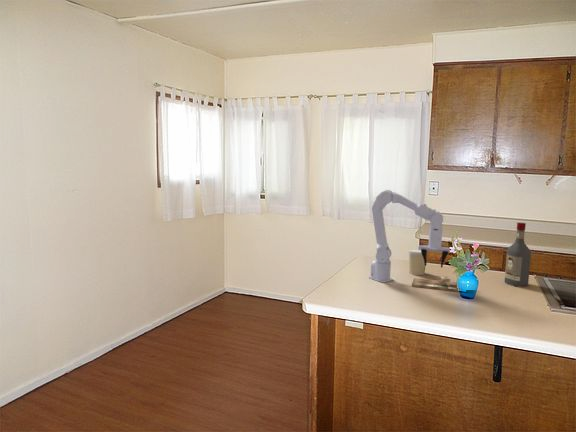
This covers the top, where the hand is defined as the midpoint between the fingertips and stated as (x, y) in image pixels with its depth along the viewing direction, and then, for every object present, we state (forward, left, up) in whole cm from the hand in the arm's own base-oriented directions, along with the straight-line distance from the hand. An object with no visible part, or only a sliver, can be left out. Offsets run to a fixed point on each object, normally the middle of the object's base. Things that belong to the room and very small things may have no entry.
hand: (433, 266), depth 207 cm
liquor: (+19, +38, -10) cm, 44 cm away
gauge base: (+2, +2, -9) cm, 10 cm away
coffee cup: (-19, +11, -10) cm, 24 cm away
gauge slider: (+6, +2, -8) cm, 10 cm away
